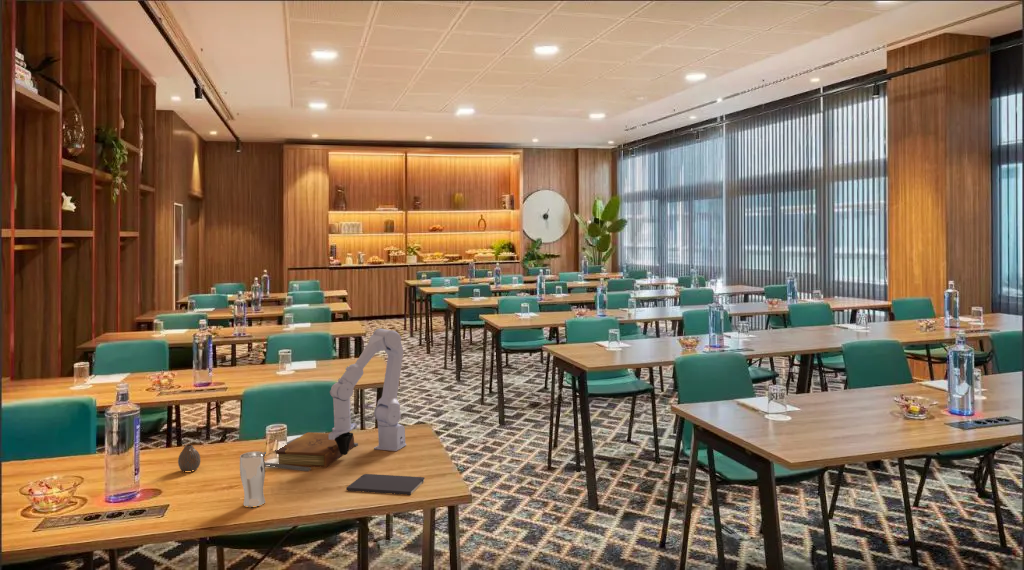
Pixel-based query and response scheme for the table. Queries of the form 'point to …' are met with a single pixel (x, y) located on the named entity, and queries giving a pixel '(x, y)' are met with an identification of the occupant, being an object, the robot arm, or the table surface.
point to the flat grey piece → (292, 465)
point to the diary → (311, 451)
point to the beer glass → (253, 477)
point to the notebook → (386, 484)
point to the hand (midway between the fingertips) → (343, 454)
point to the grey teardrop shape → (189, 459)
